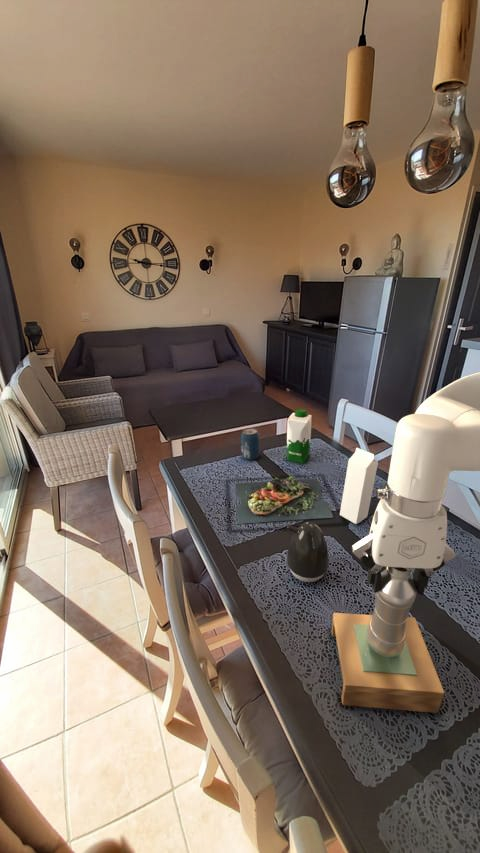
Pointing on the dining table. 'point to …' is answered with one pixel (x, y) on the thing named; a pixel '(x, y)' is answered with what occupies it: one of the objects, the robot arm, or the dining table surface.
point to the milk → (358, 486)
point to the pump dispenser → (307, 552)
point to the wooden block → (385, 669)
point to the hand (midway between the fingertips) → (395, 586)
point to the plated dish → (280, 501)
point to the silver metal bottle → (391, 611)
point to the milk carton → (298, 436)
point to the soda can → (250, 444)
